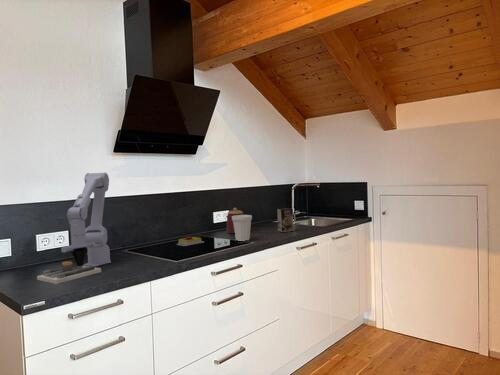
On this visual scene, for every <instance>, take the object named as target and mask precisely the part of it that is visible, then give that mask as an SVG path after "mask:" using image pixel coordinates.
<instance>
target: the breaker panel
mask: <svg viewBox="0 0 500 375" xmlns="http://www.w3.org/2000/svg"><path fill="white" fill-rule="evenodd" d="M72 269H73V270H72V271H68V272H64V273H63V267H60V268H57V269H53V270H50V269H48V270H43V271H42V274H41V275H37V276H36V280H37V281H40V282H45V283H50V284H54V285H57V284H59V285H60V284H61V283H65V282H70V281H72V280H76V279H80V278H84V277H87V276H91V275H94V274H95V275H96V274H98V273H99V274H100V273H102V268H101V267H97V266H95V267H93V266H87V265H84V264H83V266H77V264H74V265H72Z"/></svg>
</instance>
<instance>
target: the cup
mask: <svg viewBox="0 0 500 375" xmlns="http://www.w3.org/2000/svg"><path fill="white" fill-rule="evenodd" d="M232 220H233V224H234V231H235V234H234V236H235V241H236V240H238V241H245V240H249V239H250V238H251V225H252V220H253V216H252V214H243V215H236V216H232ZM250 240H251V239H250Z"/></svg>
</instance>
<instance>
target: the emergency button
mask: <svg viewBox="0 0 500 375" xmlns="http://www.w3.org/2000/svg"><path fill="white" fill-rule="evenodd" d="M203 243H204V241H202V238H201V237H196V236H185V238H180V239H178V243H177V244H176V246H182V247H187V246H191V245H197V244H198V245H199V244H203Z"/></svg>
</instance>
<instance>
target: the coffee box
mask: <svg viewBox="0 0 500 375" xmlns="http://www.w3.org/2000/svg"><path fill="white" fill-rule="evenodd" d="M276 210H277V213H276V214H277V232H278V231H281V232H286V231H293V232H294V212H293V211H294V209H293V208H277V209H276Z"/></svg>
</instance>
